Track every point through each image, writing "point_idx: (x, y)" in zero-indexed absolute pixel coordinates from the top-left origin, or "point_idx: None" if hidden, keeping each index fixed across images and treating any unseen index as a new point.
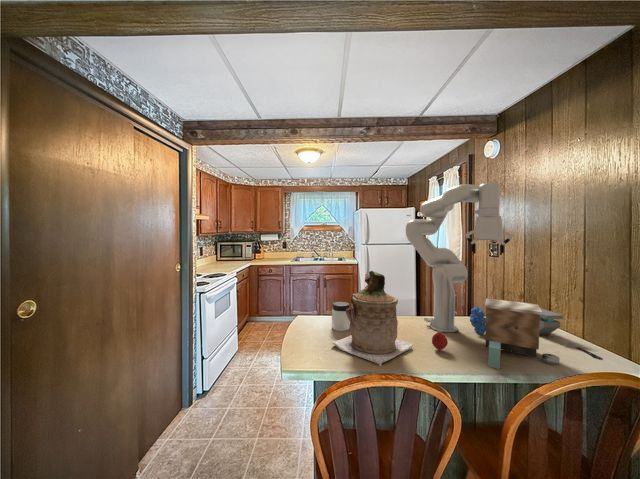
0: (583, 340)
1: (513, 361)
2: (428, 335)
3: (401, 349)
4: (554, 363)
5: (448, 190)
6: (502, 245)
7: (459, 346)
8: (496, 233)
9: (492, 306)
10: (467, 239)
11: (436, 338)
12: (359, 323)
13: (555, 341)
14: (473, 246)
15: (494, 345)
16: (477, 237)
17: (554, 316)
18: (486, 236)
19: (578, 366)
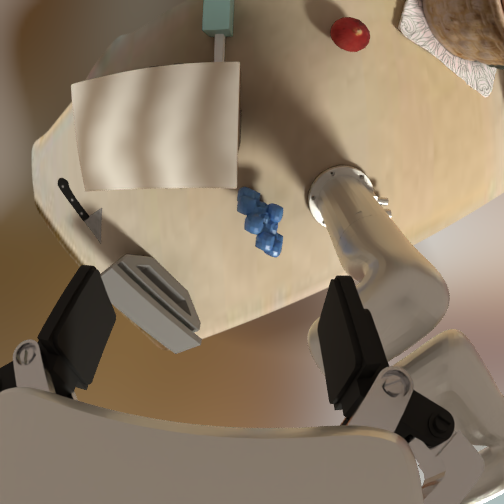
0: (87, 264)
1: (182, 55)
2: (374, 127)
3: (412, 3)
4: None
5: None
6: (46, 347)
7: (300, 81)
8: (12, 486)
9: (210, 62)
10: (449, 415)
11: (359, 20)
12: None
13: (117, 234)
14: (371, 337)
15: (217, 2)
16: (367, 461)
17: (101, 274)
18: (178, 491)
19: None
